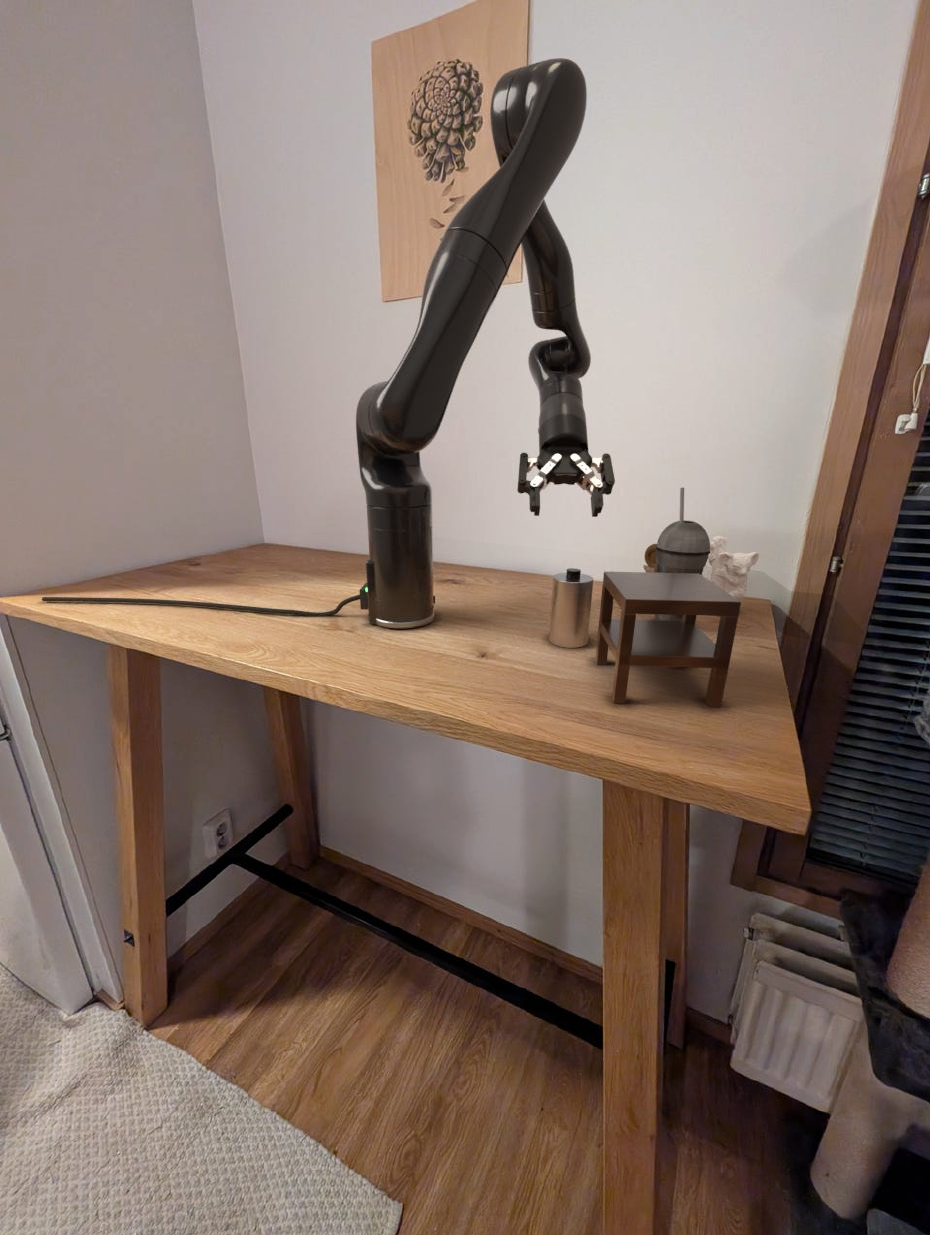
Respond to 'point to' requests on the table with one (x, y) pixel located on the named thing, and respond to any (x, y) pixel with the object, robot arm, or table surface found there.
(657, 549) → the beverage cup
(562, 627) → the silver metal canister
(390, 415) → the robot arm
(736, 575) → the koala figurine
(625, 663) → the stand
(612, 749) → the table surface
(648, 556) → the snail figurine
